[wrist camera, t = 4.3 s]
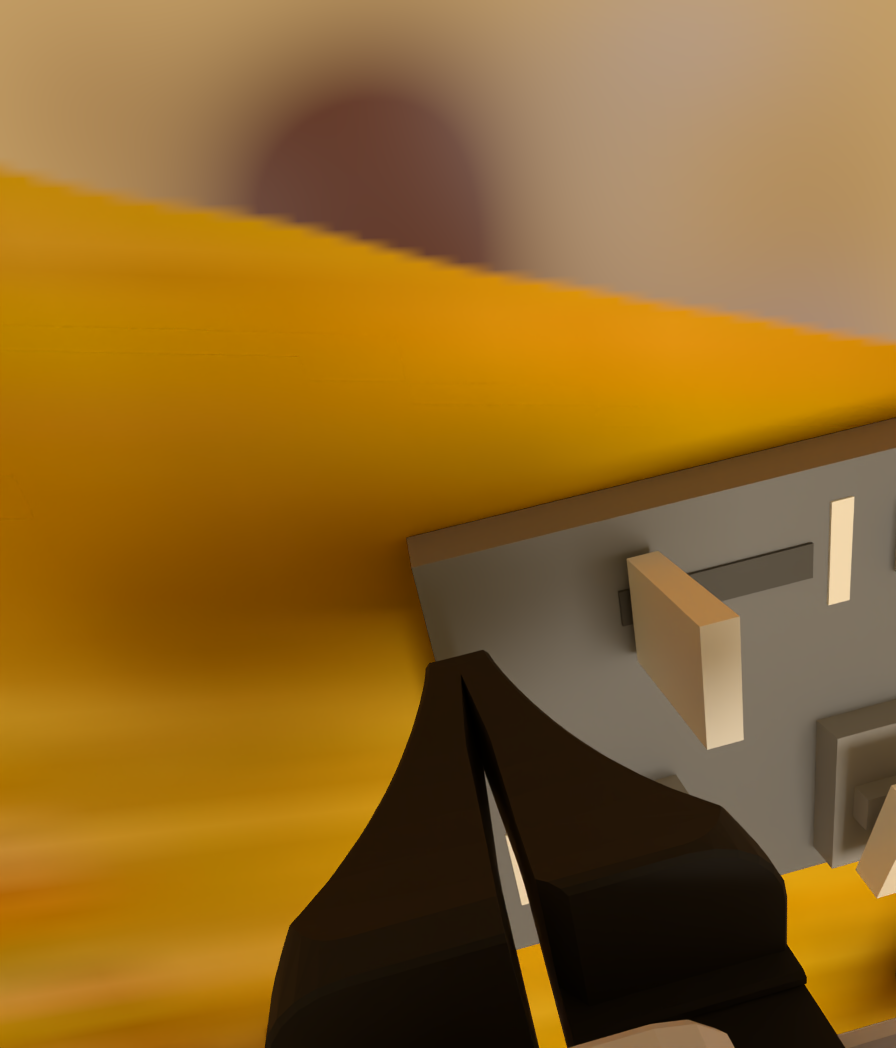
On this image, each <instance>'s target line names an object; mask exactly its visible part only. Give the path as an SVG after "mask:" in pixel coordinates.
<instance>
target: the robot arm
mask: <svg viewBox="0 0 896 1048" xmlns="http://www.w3.org/2000/svg"><path fill="white" fill-rule="evenodd" d="M484 772H485V773H484ZM485 775H486V777H487V780H488V783H489V786H490V789H491V791H492V794H493V797H494V800H495V803H496V805H497V808H498V811H499V814H500V816H501V819H502V822H503V825H504V827H505V830H506V833H507V836H508V839H509V841H510V844H511V847H512V850H513V852H514V855H515V858H516V861H517V864H518V867H519V870H520V873H521V876H522V879H523V882H524V886H525V889H526V893H527V897H528V901H529V904H530V908H531V912H532V916H533V920H534V923H535V927H536V931H537V935H538V938H539V942H540V946H541V950H542V953H543V957H544V961H545V965H546V969H547V972H548V976H549V980H550V984H551V988H552V991H553V995H554V999H555V1003H556V1007H557V1010H558V1014H559V1018H560V1022H561V1026H562V1029H563V1033H564V1037H565V1041H566V1045H567V1048H896V1018H893V1019H890V1020H886V1021H883V1022H880V1023H876V1024H873V1025H869V1026H866V1027H863V1028H859V1029H856V1030H853V1031H849V1032H846V1033H842V1034H839V1035H837V1034H836V1032H835V1031H834V1029H833V1028H832V1026H831V1025H830V1023H829V1022H828V1020H827V1019H826V1017H825V1015H824V1014H823V1012H822V1011H821V1009H820V1008H819V1006H818V1005H817V1003H816V1002H815V1000H814V999H813V997H812V995H811V994H810V992H809V991H808V989H807V988H806V986H805V985H804V984H806V983H807V977H806V975H805V972H804V970H803V968H802V966H801V965H800V963H799V962H798V960H797V959H796V957H795V956H794V954H793V953H792V951H791V950H790V948H789V947H788V945H787V894H786V889H785V883H784V880H783V878H782V877H781V875H780V874H779V872H778V871H777V869H776V868H775V866H774V865H773V863H772V862H771V860H770V859H769V857H768V856H767V855H766V853H765V852H764V851H763V850H762V848H761V847H760V846H759V845H758V844H757V842H756V841H755V840H754V839H753V838H752V837H751V836H750V835H749V834H748V833H747V832H746V830H745V829H744V828H743V827H742V826H741V825H740V824H739V823H738V822H737V821H736V820H735V819H734V818H733V817H732V816H731V815H730V814H729V813H728V812H727V811H726V810H725V809H724V808H723V807H722V806H720V805H717V804H715V803H712V802H709V801H706V800H703V799H700V798H698V797H695V796H692V795H689V794H686V793H684V792H681V791H678V790H675V789H672V788H670V787H667V786H665V785H663V784H661V783H658V782H656V781H654V780H651V779H649V778H647V777H645V776H642V775H640V774H638V773H636V772H634V771H633V770H631V769H629V768H627V767H625V766H623V765H621V764H619V763H617V762H616V761H614V760H612V759H610V758H608V757H606V756H605V755H603V754H601V753H600V752H598V751H597V750H595V749H593V748H592V747H590V746H589V745H587V744H586V743H584V742H583V741H581V740H580V739H578V738H577V737H575V736H574V735H572V734H571V733H570V732H568V731H567V730H566V729H564V728H563V727H562V726H560V725H559V724H558V723H556V722H555V721H554V720H553V719H551V718H550V717H549V716H548V715H547V714H545V713H544V712H543V711H542V710H541V709H540V708H538V707H537V706H536V705H535V704H534V703H533V702H532V701H531V700H530V699H529V698H528V697H526V696H525V695H524V694H523V693H522V692H521V691H520V690H519V689H518V688H517V687H516V686H515V685H514V684H513V683H512V682H511V681H510V680H509V678H508V677H507V676H506V675H505V674H504V673H503V672H502V670H501V669H500V668H499V667H498V666H497V664H496V663H495V662H494V660H493V659H492V658H491V656H490V654H489V653H488V652H486V651H484V650H480V651H476V652H472V653H468V654H464V655H460V656H456V657H452V658H448V659H444V660H440V661H436V662H433V663H429V665H428V666H427V668H426V674H425V682H424V688H423V692H422V697H421V701H420V705H419V708H418V712H417V715H416V719H415V722H414V725H413V728H412V731H411V734H410V737H409V740H408V742H407V745H406V748H405V750H404V753H403V755H402V758H401V760H400V763H399V765H398V767H397V770H396V772H395V774H394V776H393V778H392V781H391V783H390V785H389V787H388V789H387V791H386V793H385V795H384V796H383V798H382V800H381V802H380V804H379V805H378V807H377V809H376V811H375V812H374V814H373V816H372V818H371V820H370V821H369V823H368V825H367V826H366V828H365V829H364V831H363V833H362V834H361V836H360V837H359V839H358V840H357V842H356V843H355V845H354V846H353V847H352V849H351V850H350V852H349V853H348V855H347V856H346V857H345V859H344V860H343V862H342V863H341V864H340V866H339V867H338V869H337V870H336V872H335V873H334V874H333V876H332V877H331V878H330V879H329V881H328V882H327V883H326V885H325V886H324V887H323V888H322V889H321V890H320V892H319V893H318V894H317V895H316V896H315V897H314V899H313V900H312V901H311V902H310V903H309V904H308V905H307V907H306V908H305V909H304V910H303V911H302V912H301V914H300V915H299V916H298V917H297V918H296V919H295V920H294V921H293V922H292V923H291V925H290V927H289V930H288V933H287V936H286V940H285V943H284V947H283V950H282V954H281V957H280V962H279V966H278V969H277V973H276V977H275V981H274V986H273V991H272V997H271V1005H270V1012H269V1020H268V1028H267V1036H266V1044H265V1048H539V1045H538V1041H537V1037H536V1033H535V1028H534V1024H533V1020H532V1016H531V1011H530V1007H529V1003H528V999H527V994H526V990H525V986H524V981H523V977H522V973H521V969H520V964H519V960H518V956H517V951H516V947H515V943H514V939H513V934H512V930H511V926H510V921H509V917H508V913H507V909H506V904H505V900H504V896H503V891H502V886H501V880H500V875H499V870H498V863H497V856H496V849H495V842H494V835H493V828H492V821H491V814H490V807H489V800H488V794H487V787H486V780H485Z"/></svg>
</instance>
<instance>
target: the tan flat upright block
mask: <svg viewBox="0 0 896 1048" xmlns="http://www.w3.org/2000/svg"><path fill="white" fill-rule="evenodd" d="M627 568H628V577H629V586H630V595H631V605H632V614H633V623H634V633H635V642H636V651H637V660H638V662H639V664H640V665H641V666H642V667H643V669H644V670H645V671H646V673H647V674H648V675H649V676H650V678H651V679H652V680H653V681H654V683H655V684H656V685H657V687H658V688H659V689H660V690H661V692H662V693H663V694H664V695H665V697H666V698H667V699H668V701H669V702H670V703H671V704H672V706H673V707H674V708H675V710H676V711H677V712H678V713H679V715H680V716H681V717H682V718H683V720H684V721H685V722H686V724H687V725H688V726H689V727H690V729H691V730H692V731H693V732H694V734H695V735H696V736H697V738H698V739H699V740H700V741H701V743H702V744H703V745H704V747H705V748H706V749H707V750H709V749H712V748H716V747H720V746H723V745H727V744H731V743H735V742H738V741H742V740H744V734H743V701H742V669H741V636H740V616H739V615H737V614H736V613H735V612H734V611H733V610H731V609H730V608H729V607H728V606H726V605H725V604H724V603H723V602H721V601H720V600H719V599H718V598H716V597H715V596H714V595H713V594H711V593H710V592H709V591H708V590H706V589H705V588H704V587H703V586H701V585H700V584H699V583H698V582H696V581H695V580H694V579H693V578H691V577H690V576H689V575H688V574H686V573H685V572H684V571H683V570H681V569H680V568H679V567H678V566H676V565H675V564H674V563H673V562H671V561H670V560H669V559H668V558H666V557H665V556H664V555H663V554H661V553H660V552H659V551H655V552H651V553H647V554H643V555H639V556H635V557H631V558H627Z"/></svg>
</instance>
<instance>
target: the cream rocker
mask: <svg viewBox="0 0 896 1048" xmlns="http://www.w3.org/2000/svg"><path fill="white" fill-rule="evenodd" d="M856 871H857V872H858V874H859V875H860V876H861V878H862V879H863V880H864V882H865V883H866V884H867V886H868V887H869V888H870V890H871V891H872V892H873V894H874V895H875V896H876V898H879V897H883V896H886V895H890V894H893V893H896V784H895V785H892V786H891V787H890V790H889V792H888V794H887V797H886V799H885V801H884V804H883V806H882V809H881V811H880V813H879V816H878V818H877V820H876V823H875V825H874V828H873V830H872V832H871V835H870V837H869V840H868V842H867V844H866V847H865V849H864V851H863V854H862V856H861V859H860V861H859V863H858V866H857V868H856Z"/></svg>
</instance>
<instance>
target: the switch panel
mask: <svg viewBox="0 0 896 1048" xmlns="http://www.w3.org/2000/svg"><path fill="white" fill-rule="evenodd" d="M407 544H408V550H409V556H410V562H411V568H412V572H413V576H414V580H415V584H416V587H417V591H418V595H419V599H420V603H421V607H422V611H423V615H424V618H425V622H426V626H427V630H428V634H429V638H430V642H431V645H432V649H433V653H434V657H435V661H440V660H444V659H448V658H452V657H456V656H460V655H464V654H468V653H472V652H476V651H480V650H484V651H486V652H488V653H489V654H490V656H491V658H492V659H493V660H494V662H495V663H496V664H497V666H498V667H499V668H500V669H501V670H502V672H503V673H504V674H505V675H506V676H507V677H508V678H509V680H510V681H511V682H512V683H513V684H514V685H515V686H516V687H517V688H518V689H519V690H520V691H521V692H522V693H523V694H524V695H525V696H526V697H528V698H529V699H530V700H531V701H532V702H533V703H534V704H535V705H536V706H537V707H538V708H540V709H541V710H542V711H543V712H544V713H545V714H547V715H548V716H549V717H550V718H551V719H553V720H554V721H555V722H556V723H558V724H559V725H560V726H562V727H563V728H564V729H566V730H567V731H568V732H570V733H571V734H572V735H574V736H575V737H577V738H578V739H580V740H581V741H583V742H584V743H586V744H587V745H589V746H590V747H592V748H593V749H595V750H597V751H598V752H600V753H601V754H603V755H605V756H606V757H608V758H610V759H612V760H614V761H616V762H617V763H619V764H621V765H623V766H625V767H627V768H629V769H631V770H633V771H634V772H636V773H638V774H640V775H642V776H645V777H647V778H649V779H651V780H654V781H656V782H658V783H661V784H663V785H665V786H667V787H670V788H672V789H675V790H678V791H681V792H684V793H686V794H689V795H692V796H695V797H698V798H700V799H703V800H706V801H709V802H712V803H715V804H717V805H720V806H722V807H723V808H724V809H725V810H726V811H727V812H728V813H729V814H730V815H731V816H732V817H733V818H734V819H735V820H736V821H737V822H738V823H739V824H740V825H741V826H742V827H743V828H744V829H745V830H746V832H747V833H748V834H749V835H750V836H751V837H752V838H753V839H754V840H755V841H756V842H757V844H758V845H759V846H760V847H761V848H762V850H763V851H764V852H765V853H766V855H767V856H768V857H769V859H770V860H771V862H772V863H773V865H774V866H775V868H776V869H777V871H778V872H779V874H780V875H783V874H786V873H790V872H793V871H797V870H800V869H804V868H807V867H811V866H815V865H818V864H822V863H825V862H827V863H828V864H829V865H830V867H831V868H836V867H839V866H843V865H846V864H850V863H853V862H857V861H860V859H861V856H862V854H863V851H864V849H865V847H866V844H867V842H868V840H869V837H870V835H871V832H872V830H873V828H874V825H875V823H876V820H877V818H878V816H879V813H880V811H881V809H882V806H883V804H884V801H885V799H886V797H887V794H888V792H889V790H890V787H891V786H892V785H895V784H896V418H893V419H889V420H885V421H881V422H877V423H873V424H869V425H865V426H861V427H857V428H852V429H848V430H844V431H840V432H836V433H832V434H828V435H824V436H820V437H816V438H812V439H808V440H804V441H799V442H795V443H791V444H787V445H783V446H779V447H775V448H771V449H767V450H763V451H759V452H755V453H750V454H746V455H742V456H738V457H734V458H730V459H726V460H722V461H718V462H714V463H710V464H706V465H702V466H697V467H693V468H689V469H685V470H681V471H677V472H673V473H669V474H665V475H661V476H657V477H653V478H649V479H644V480H640V481H636V482H632V483H628V484H624V485H620V486H616V487H612V488H608V489H604V490H600V491H595V492H591V493H587V494H583V495H579V496H575V497H571V498H567V499H563V500H559V501H555V502H551V503H547V504H542V505H538V506H534V507H530V508H526V509H522V510H518V511H514V512H510V513H506V514H502V515H498V516H493V517H489V518H485V519H481V520H477V521H473V522H469V523H465V524H461V525H457V526H453V527H449V528H445V529H440V530H436V531H432V532H428V533H424V534H420V535H416V536H412V537H408V538H407ZM655 551H659V552H660V553H661V554H663V555H664V556H665V557H666V558H668V559H669V560H670V561H671V562H673V563H674V564H675V565H676V566H678V567H679V568H680V569H681V570H683V571H684V572H685V573H686V574H688V575H689V576H690V577H691V578H693V579H694V580H695V581H696V582H698V583H699V584H700V585H701V586H703V587H704V588H705V589H706V590H708V591H709V592H710V593H711V594H713V595H714V596H715V597H716V598H718V599H719V600H720V601H721V602H723V603H724V604H725V605H726V606H728V607H729V608H730V609H731V610H733V611H734V612H735V613H736V614H737V615H739V616H740V636H741V669H742V701H743V734H744V740H742V741H738V742H735V743H731V744H727V745H723V746H720V747H716V748H712V749H709V750H707V749H706V748H705V747H704V745H703V744H702V743H701V741H700V740H699V739H698V738H697V736H696V735H695V734H694V732H693V731H692V730H691V729H690V727H689V726H688V725H687V724H686V722H685V721H684V720H683V718H682V717H681V716H680V715H679V713H678V712H677V711H676V710H675V708H674V707H673V706H672V704H671V703H670V702H669V701H668V699H667V698H666V697H665V695H664V694H663V693H662V692H661V690H660V689H659V688H658V687H657V685H656V684H655V683H654V681H653V680H652V679H651V678H650V676H649V675H648V674H647V673H646V671H645V670H644V669H643V667H642V666H641V665H640V664H639V662H638V660H637V651H636V642H635V633H634V623H633V614H632V605H631V595H630V586H629V577H628V568H627V558H631V557H635V556H639V555H643V554H647V553H651V552H655ZM484 773H485V772H484ZM485 780H486V787H487V794H488V800H489V807H490V814H491V821H492V828H493V835H494V842H495V849H496V856H497V863H498V870H499V875H500V880H501V886H502V891H503V896H504V900H505V904H506V909H507V913H508V917H509V921H510V926H511V930H512V934H513V939H514V943H515V947H516V950H517V949H521V948H524V947H528V946H531V945H535V944H539V943H540V942H539V938H538V935H537V931H536V927H535V923H534V920H533V916H532V912H531V908H530V904H529V901H528V897H527V893H526V889H525V886H524V882H523V879H522V876H521V873H520V870H519V867H518V864H517V861H516V858H515V855H514V852H513V850H512V847H511V844H510V841H509V839H508V836H507V833H506V830H505V827H504V825H503V822H502V819H501V816H500V814H499V811H498V808H497V805H496V803H495V800H494V797H493V794H492V791H491V789H490V786H489V783H488V780H487V777H486V775H485Z"/></svg>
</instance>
